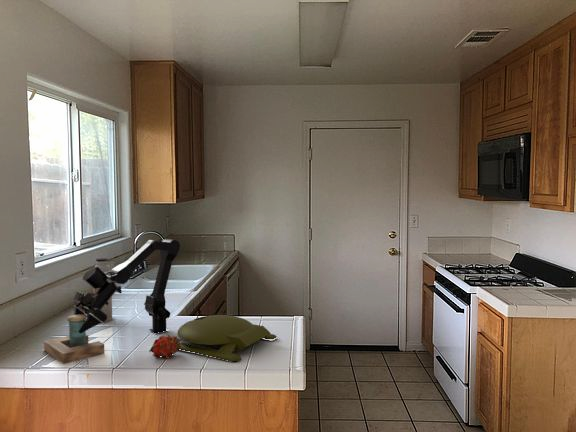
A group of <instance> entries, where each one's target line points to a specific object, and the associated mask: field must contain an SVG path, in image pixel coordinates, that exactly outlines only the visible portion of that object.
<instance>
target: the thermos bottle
mask: <svg viewBox="0 0 576 432" xmlns="http://www.w3.org/2000/svg"><path fill="white" fill-rule="evenodd" d="M95 260H96V261H95V262H96V264H95V265H94V267H95V266H97V267H98V268H100V270H101V271H102V272H103V273H106V272H110V271H111V270H112V269H111V266H110V265H109V264H108V261H109V260H108V258H106V257H105V258H104V257H102V258H101V257H100V258H96V259H95ZM94 267H93V268H94ZM107 281H108V282H113V281H111V280H108V279H107ZM98 289H99V288H96V289H94V288H93V287H92V291H93V292H92V293H96V291H97V290H98ZM108 303H109V304H108V305H104V307H103V308H102V309H101V311H102V312H104V313H105V314H106V315H107V320H106V321H105V322H107V321H112V319H113V296H112V297H111V298H110V299H109V301H108ZM100 322H101V321H100ZM101 323H102V322H101Z"/></svg>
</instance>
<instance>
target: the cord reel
mask: <svg viewBox="0 0 576 432" xmlns="http://www.w3.org/2000/svg"><path fill="white" fill-rule="evenodd" d="M86 315H87V314H85V315H74V314H73V315H69V316H68V317H67V322H68V332H69V333H68V336H69V340H70V348H71V347H76V346H80V345H84V344H86V334H87V333H86V332H87V330H86V331H85V332H83V333H79V330H80V328H81V327H82V325H83V324H84V322H85V321H86V319H87V317H86Z"/></svg>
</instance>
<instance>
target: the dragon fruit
mask: <svg viewBox="0 0 576 432" xmlns="http://www.w3.org/2000/svg"><path fill="white" fill-rule="evenodd" d="M180 343H181V339H180V338H178V336H176V335H175V336H174V335H173V336H172V335H170V334H166V336H163V335H161V336H159V338H157V339H155V340H154V342H153V344H152V346H151V347H150V349H149V353H153V354H152V357H154V358H159V357H160V356H164V357H165V358H166V359H169V358H170V357H173V356H172V354H173V355H174V354H176V353H179V352H181V351H180V350H179V348H180Z"/></svg>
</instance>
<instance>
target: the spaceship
mask: <svg viewBox="0 0 576 432" xmlns="http://www.w3.org/2000/svg"><path fill="white" fill-rule="evenodd" d="M276 337H277V338H278V336H277V334H273V333H271V331H269V330H268V329H267V328H266V327H265V326H264V325H258V324H253V323H252V322H250V321H249V320H247V319H245V318H243V317H239V316H236V315H228V314H213V315H212V314H210V315H205V316H204V315H203V316H201V317H197V318H193V320H189V321H186V322H185V323H184V324H181V326H180V327H179V328H178V330H177V338H178V339H179V340H182V341H184V342H180V348H179V349H181V350H185V351H190V352H195V353H199V354H203V355H208V356H212V357H216V358H220V359H224V360H223V361H225V360H228V361H227V362H229V361H238V362H240V361H241V360H242V355H241V354H239V353H234V351H236V352H237V351H238V352H240V351H242V350H245V348H247V347H249V346H251V345H253V344H255V343H256V342H258V341H260V339H262V338H265V339H274V338H276ZM187 342H188V343H187ZM201 345H208V346H209V345H211V346H212V345H214V346H215V345H220V346H221V347H220V349H214V348H211V347H207V346H206V347H205V346H201ZM220 359H219V360H220ZM239 360H240V361H239Z"/></svg>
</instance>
